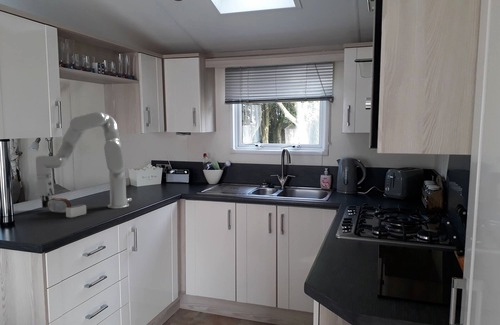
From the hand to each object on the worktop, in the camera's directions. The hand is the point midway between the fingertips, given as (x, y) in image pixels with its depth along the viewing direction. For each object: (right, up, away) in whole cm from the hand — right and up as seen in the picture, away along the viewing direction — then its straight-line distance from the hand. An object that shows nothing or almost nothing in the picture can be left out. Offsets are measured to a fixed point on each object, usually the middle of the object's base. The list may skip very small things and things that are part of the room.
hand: (45, 206), depth 218 cm
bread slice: (+11, -3, -5) cm, 12 cm away
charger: (+24, -3, -11) cm, 27 cm away
